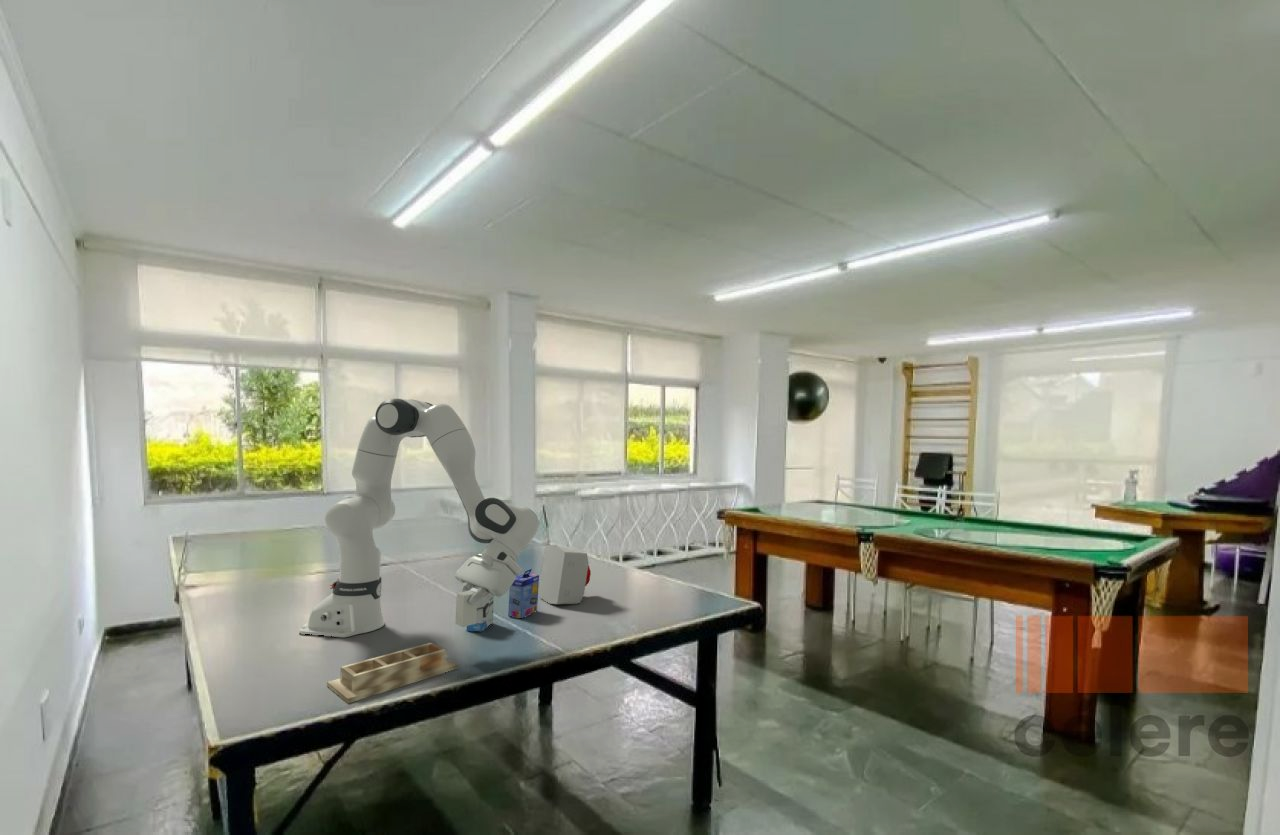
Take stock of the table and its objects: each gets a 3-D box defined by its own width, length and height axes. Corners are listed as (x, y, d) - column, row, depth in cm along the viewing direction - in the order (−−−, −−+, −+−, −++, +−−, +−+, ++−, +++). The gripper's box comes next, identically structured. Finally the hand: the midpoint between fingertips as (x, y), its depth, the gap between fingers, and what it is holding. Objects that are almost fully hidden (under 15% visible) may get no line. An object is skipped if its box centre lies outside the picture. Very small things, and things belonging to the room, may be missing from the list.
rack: (347, 703, 124) (348, 682, 124) (326, 686, 132) (327, 666, 132) (457, 668, 143) (457, 650, 143) (433, 655, 151) (433, 638, 151)
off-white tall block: (455, 623, 151) (456, 593, 152) (469, 620, 154) (470, 590, 155) (462, 627, 149) (463, 595, 149) (476, 623, 152) (477, 592, 152)
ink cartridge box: (522, 619, 182) (523, 573, 182) (507, 617, 184) (508, 571, 184) (538, 611, 191) (539, 567, 191) (524, 608, 193) (525, 565, 194)
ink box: (481, 632, 169) (482, 592, 170) (465, 631, 170) (466, 591, 171) (494, 623, 178) (495, 585, 178) (479, 622, 179) (480, 584, 179)
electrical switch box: (593, 607, 203) (602, 550, 205) (556, 608, 194) (565, 548, 197) (573, 598, 215) (581, 543, 217) (537, 597, 206) (546, 541, 209)
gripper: (470, 546, 164) (437, 586, 157) (512, 557, 151) (478, 602, 143) (483, 559, 168) (451, 600, 160) (526, 572, 154) (493, 617, 146)
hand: (464, 601), depth 151 cm, fingers closed on off-white tall block, 3 cm apart
